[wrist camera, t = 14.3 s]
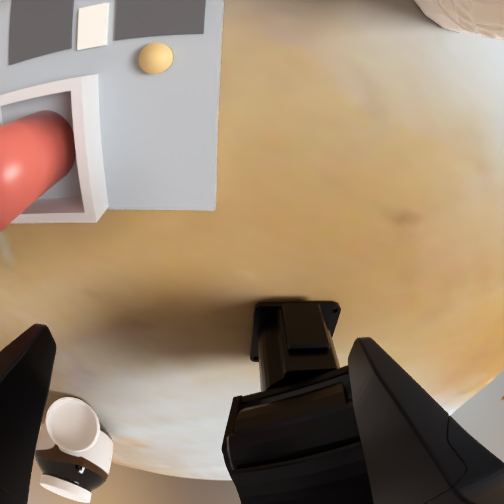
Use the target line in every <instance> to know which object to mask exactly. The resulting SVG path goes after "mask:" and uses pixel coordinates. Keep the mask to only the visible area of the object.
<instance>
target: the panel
mask: <svg viewBox="0 0 504 504" xmlns="http://www.w3.org/2000/svg"><path fill="white" fill-rule="evenodd" d="M223 15H224V0H0V126H2V125H4V124H7V123H9V122H12V121H14V120H17V119H19V118H22V117H24V116H27V115H30V114H32V113H35V112H38V111H42V110H49V111H54V112H56V113H58V114H60V115H61V116H62V117H64V118H65V119H66V120H67V122H68V123H69V124H70V126H71V128H72V130H73V133H74V141H75V150H76V157H75V161H74V164H73V166H72V168H71V170H70V171H69V173H68V174H67V175H66V176H65V177H64V178H62V179H61V180H60V181H59V182H57V183H56V184H55V185H54V186H52V187H51V188H50V189H49V190H47V191H46V192H45V193H44V194H43V195H41V196H40V197H39V198H38V199H37V200H36V201H34V202H33V203H32V204H31V205H30V206H29V207H28V208H26V209H25V210H24V211H23V212H22V213H21V214H20V215H19V216H17V217H16V218H15V219H14V220H13V221H12V222H11V223H97V221H98V220H99V219H100V217H101V216H102V215H103V213H104V212H105V211H106V210H212V211H215V206H216V194H217V145H218V113H219V88H220V66H221V47H222V30H223ZM11 223H10V224H11Z"/></svg>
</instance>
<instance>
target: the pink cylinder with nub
mask: <svg viewBox="0 0 504 504" xmlns="http://www.w3.org/2000/svg"><path fill="white" fill-rule="evenodd" d="M75 157H76V150H75V141H74V133H73V130H72V128H71V126H70V124H69V123H68V122H67V120H66V119H65V118H64V117H62V116H61V115H60V114H58V113H56V112H54V111H49V110H42V111H38V112H35V113H32V114H30V115H27V116H24V117H22V118H19V119H17V120H14V121H12V122H9V123H7V124H4V125H2V126H0V231H1V230H3V229H4V228H6V227H7V226H8V225H9V224H10V223H11V222H12V221H13V220H14V219H15V218H16V217H17V216H19V215H20V214H21V213H22V212H23V211H24V210H25V209H26V208H28V207H29V206H30V205H31V204H32V203H33V202H34V201H36V200H37V199H38V198H39V197H40V196H41V195H43V194H44V193H45V192H46V191H47V190H49V189H50V188H51V187H52V186H54V185H55V184H56V183H57V182H59V181H60V180H61V179H62V178H64V177H65V176H66V175H67V174H68V173H69V171H70V170H71V168H72V166H73V164H74V161H75Z"/></svg>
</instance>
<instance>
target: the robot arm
mask: <svg viewBox="0 0 504 504" xmlns="http://www.w3.org/2000/svg"><path fill="white" fill-rule="evenodd" d="M334 308H336V309H334ZM259 309H263V310H259ZM332 309H334V310H332ZM340 311H341V308H340V305H339V304H338V303H336V302H315V303H283V302H260V303H257V304H256V305H255V307H254V316H253V328H252V339H251V350H250V359H251V361H253V362H259V368H260V382H261V392H258V393H254V394H250V395H246V396H237V397H234V398H233V401H232V405H231V410H230V414H229V418H228V422H227V426H226V430H225V435H224V439H223V444H222V453H223V455H224V460H225V464H226V467H227V469H228V472H229V474H230V476H231V478H232V480H233V482H234V484H235V486H236V489H237V491H238V494H239V497H240V500H241V504H504V463H503V462H502V461H501V460H500V459H498V458H497V457H496V456H495V455H493V454H492V453H491V452H490V451H489V450H487V449H486V448H485V447H484V446H483V445H481V444H480V443H479V442H478V441H477V440H475V439H474V438H473V437H472V436H471V435H470V434H468V433H467V432H466V431H465V430H464V429H463V428H462V427H461V426H460V425H459V424H458V423H457V422H456V421H455V420H454V419H453V418H452V417H451V416H449V414H448V413H447V412H446V411H445V410H444V409H443V408H442V407H441V406H440V405H439V404H438V403H437V402H436V401H435V400H434V399H433V398H432V397H431V396H430V395H429V394H428V393H427V392H426V391H425V390H424V389H423V388H422V387H421V386H420V385H419V384H418V383H417V382H416V381H415V380H414V379H413V378H412V377H411V376H410V375H409V374H408V373H407V372H406V371H405V370H404V369H403V368H402V367H401V366H400V365H399V364H398V363H396V362H395V361H394V360H393V359H392V358H391V357H390V356H389V355H388V354H387V353H386V352H385V351H384V350H383V349H382V348H381V347H380V346H379V345H378V344H377V343H376V342H375V341H374V340H373V339H372V338H370V337H361V338H357V339H356V340H355V342H354V344H353V347H352V349H351V351H350V354H349V357H348V365H347V366H344V367H341V368H340V365H339V362H338V358H337V355H336V351H335V348H334V344H333V341H332V336H333V333H334V330H335V327H336V324H337V321H338V318H339V315H340ZM55 354H56V343H55V341H54V339H53V337H52V335H51V332H50V330H49V328H48V327H47V326H46V325H43V324H34V325H32V326H31V327H30V328H29V329H27V330H26V331H25V332H24V333H22V334H21V335H20V336H19V337H17V338H16V339H15V340H14V341H12V342H11V343H10V344H9V345H8V346H6V347H5V348H4V349H3V350H2V351H0V504H27V502H28V493H29V485H30V479H31V472H32V466H33V459H34V454H35V449H36V444H37V439H38V434H39V430H40V425H41V421H42V417H43V412H44V408H45V404H46V400H47V396H48V392H49V387H50V381H51V375H52V370H53V364H54V359H55Z"/></svg>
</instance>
